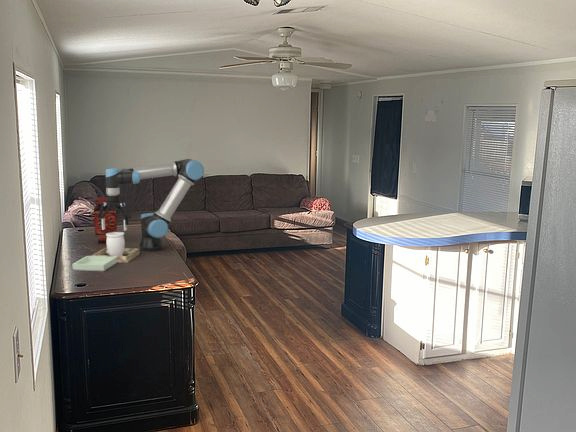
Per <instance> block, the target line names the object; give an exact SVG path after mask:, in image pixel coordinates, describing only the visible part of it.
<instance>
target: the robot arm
mask: <svg viewBox="0 0 576 432" xmlns="http://www.w3.org/2000/svg"><path fill="white" fill-rule="evenodd" d="M204 172H205V168H204V166H203V164H202V163H201V162H200V161H198V160H196V159H192V158H185V159H180V160H176V161H175V160H174V161H172V162H171V163H165V164H164V163H163V164H155V165H149V166H148V165H147V166H141V167H131V168H121V169H119V168H118V167H116V168H115V167H114V168H113V167H112V168H111V167H110V168H107V169H105V176H104V177H105V189H106V190H105V194H106V197H107V203H105V202H103V203H102V205H101V208H100V210H99V213H98V215H97V218H100V223H101V224H102V230H104V229H105V218H103V217H104V216H105V215H106V214H107V213H108V211H109V210H116V212H118V213H119V214H120V215H121V217H122V218H123V231H127V230H128V225H129V219H132V216H131V214H130V212H129V210H128V208H127V206H126V205H127V204H126V203H125V202H121V197H120V196H121V195H120V193H121V191H120V185H135V184H136V185H137V184H139V183H140V182H141V180H146V179H147V180H148V179H154V178H160V177H161V178H162V177H169V176H174V177H178V179H177V181H176V182H175V184H174V185H173V186H172V188H171V190H170V191H169V194H167V196H166V198H165V200H164V202H163V203H162V204H161V206H160V207H159V209H158V210H157V211H154V212H150V213H149V212H147V213H143V214H141V215H140V229H141V232H140V233H141V239H140V243H139V246H138V247H139V248H138V249H140V251H144V252H155V251H160V250H163V249H164V243H163V240H162V238H163V237H164V236H166V235H167V233H168V231H169V226H170V224H171V223H172V220H171V219H172V217H173V215H174V213H175V212H176V210H177V208H178V206H179V205H180V204H181V202H182V200H183V199H184V198H185V196H186V194H187V192H188V191H189V189H190V187H191V186H194V185H195V184H196V182H197V181H198V180H200V179H201V178H203V176H204ZM106 205H107V207H108V208H107V209H106V210H105V212H104V213H103V214H102V212H103V210H104V207H105V206H106ZM121 207H122V208H121ZM122 209H123V210H122ZM101 214H102V215H101Z"/></svg>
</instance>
